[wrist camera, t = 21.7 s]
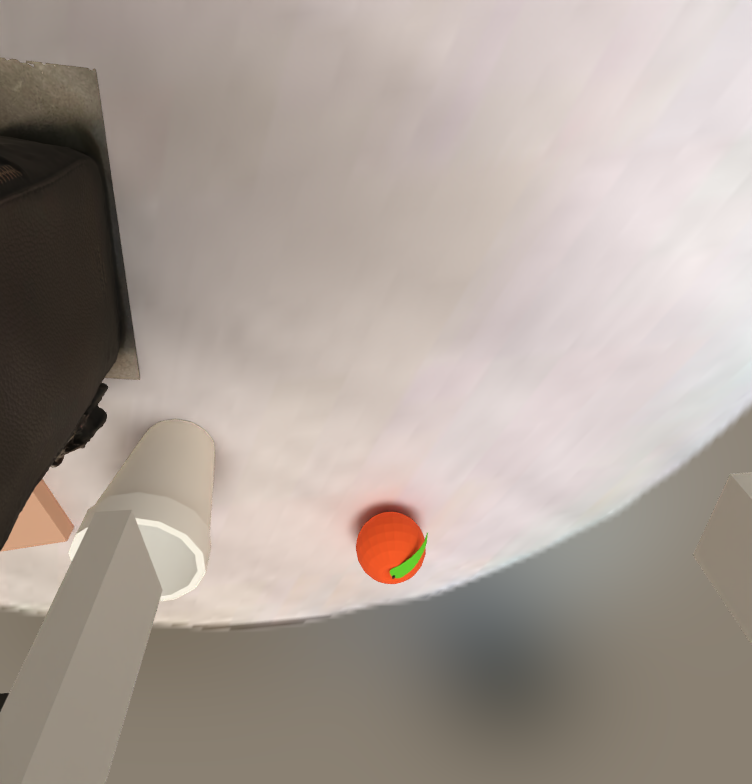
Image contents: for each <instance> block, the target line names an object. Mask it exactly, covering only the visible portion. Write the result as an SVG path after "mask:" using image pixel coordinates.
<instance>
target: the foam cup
mask: <svg viewBox="0 0 752 784" xmlns="http://www.w3.org/2000/svg"><path fill="white" fill-rule="evenodd" d="M214 464H215V448H214V441H213V440H212V438H211V437H210V436H209V434H208V433H207V432H206V430H204V429H202V428H201V427H199V426H197V425H196V424H194V423H192V422H188V421H183V420H178V419H173V420H166V421H160V422H158V423H157V424H155V425H154V426H152V427H151V428H149V429H148V431H147V432H146V433H145V434H144V436H143V437H142V439H141V440H140V442H139V443H138V444H137V446H136V447H135V449H134V450H133V451H132V453H131V454H130V456H129V457H128V459H127V460H126V461H125V463H124V464H123V466H122V467H121V469H120V470H119V471H118V473H117V474H116V476H115V477H114V478H113V480H112V481H111V483H110V484H109V486H108V487H107V488H106V490H105V491H104V493H103V494H102V496H101V497H100V498H99V500H98V501H97V503H96V504H95V505H94V506H93V507H91V508H90V509H88V511H87V513H86V515H85V517H84V519H83V521H82V523H81V525H80V527H79V529H78V531H77V533H76V536H75V538H74V540H73V543H72V545H71V548H70V550H69V552H68V553H69V556H70V559H71V562H72V560H73V558H74V556H75V554H76V552H77V550H78V548H79V545H80V543H81V541H82V539H83V537H84V535H85V533H86V531H87V529H88V526H89V524H90V522H91V520H92V518H93V516H94V514H95V512H101V511H118V510H132V511H133V514H134V516H135V519H136V522H137V524H138V527H139V529H140V532H141V535H142V537H143V540H144V543H145V545H146V548H147V550H148V553H149V556H150V558H151V561H152V563H153V566H154V569H155V571H156V574H157V577H158V579H159V582H160V584H161V587H162V590H163V591H162V594H161V597H160V601H166V600H173V599H176V598H178V597H180V596H182V595H184V594H186V593H188V592H190V591H192V590H193V589H195V588H196V587H197V585H198V584H199V582H200V580H201V579H202V577H203V576H204V574H205V573H206V569H207V564H208V560H209V556H210V551H211V540H210V522H211V508H212V493H213V478H214Z"/></svg>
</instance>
